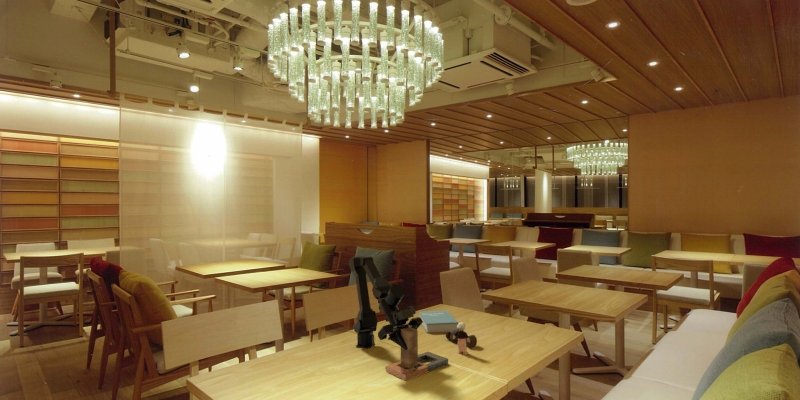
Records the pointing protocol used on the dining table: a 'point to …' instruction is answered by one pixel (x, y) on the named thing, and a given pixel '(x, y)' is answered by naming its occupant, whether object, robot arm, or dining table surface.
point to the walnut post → (409, 347)
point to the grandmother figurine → (461, 339)
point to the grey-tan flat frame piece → (417, 366)
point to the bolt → (472, 338)
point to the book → (438, 321)
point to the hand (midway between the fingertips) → (411, 347)
